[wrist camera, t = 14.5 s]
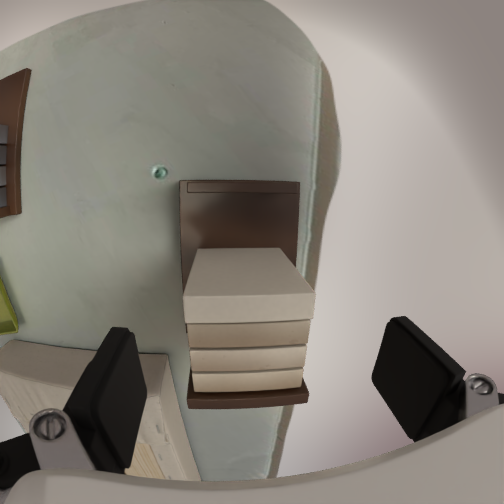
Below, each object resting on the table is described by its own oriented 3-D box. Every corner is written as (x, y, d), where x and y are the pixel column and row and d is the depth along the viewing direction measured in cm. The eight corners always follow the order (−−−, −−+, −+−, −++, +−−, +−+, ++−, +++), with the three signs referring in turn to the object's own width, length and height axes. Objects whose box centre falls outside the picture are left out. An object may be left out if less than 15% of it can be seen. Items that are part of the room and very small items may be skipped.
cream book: (197, 248, 24) (182, 296, 14) (279, 247, 24) (316, 293, 15) (198, 266, 24) (184, 324, 14) (279, 265, 25) (313, 319, 15)
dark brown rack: (181, 180, 23) (148, 182, 12) (297, 181, 24) (352, 186, 13) (187, 328, 26) (173, 408, 16) (288, 326, 28) (321, 401, 17)
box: (208, 486, 35) (170, 349, 27) (208, 520, 28) (157, 400, 19) (90, 470, 33) (11, 335, 25) (81, 500, 26) (-20, 366, 17)
